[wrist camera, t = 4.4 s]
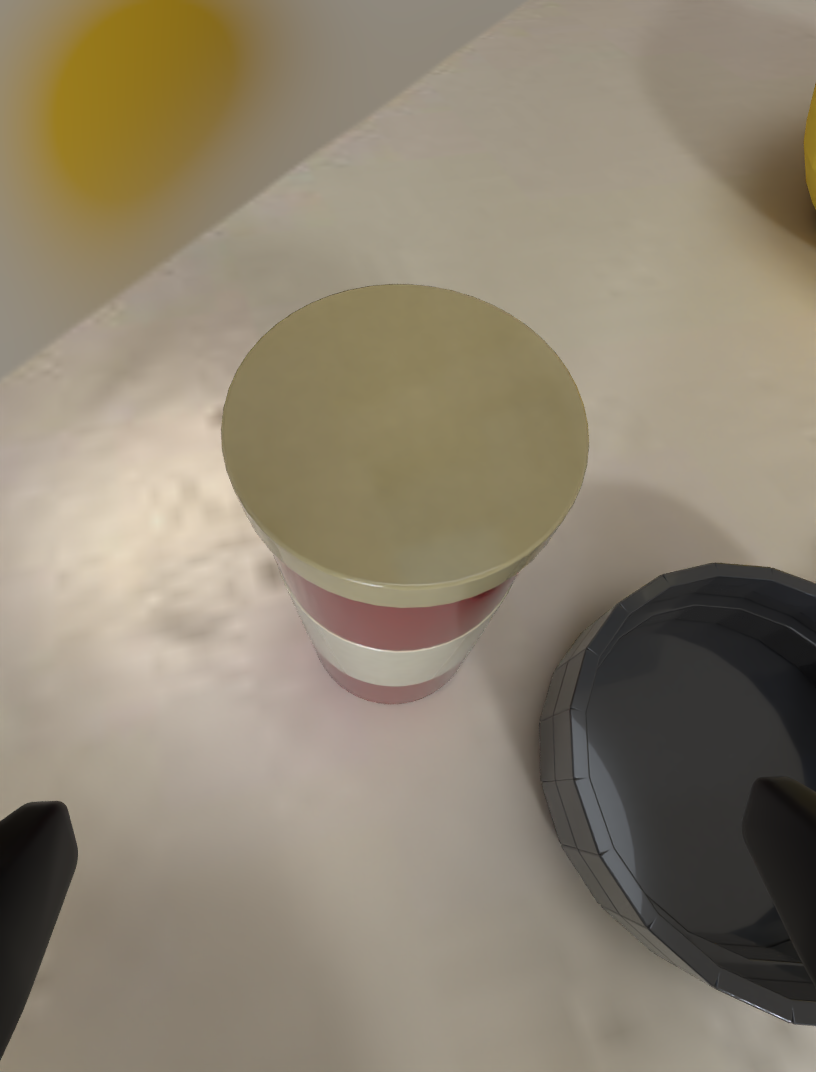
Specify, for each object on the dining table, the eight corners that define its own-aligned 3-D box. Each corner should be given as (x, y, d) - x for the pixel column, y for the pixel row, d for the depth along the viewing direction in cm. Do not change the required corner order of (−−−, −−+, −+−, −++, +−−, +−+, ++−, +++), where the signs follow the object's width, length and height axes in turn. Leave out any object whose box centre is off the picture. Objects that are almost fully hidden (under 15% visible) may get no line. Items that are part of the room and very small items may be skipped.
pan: (614, 1034, 16) (682, 1103, 13) (492, 639, 21) (515, 607, 18) (957, 913, 18) (1102, 943, 14) (772, 573, 23) (846, 531, 19)
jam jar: (324, 728, 20) (244, 631, 8) (295, 564, 22) (202, 307, 10) (496, 685, 20) (650, 541, 9) (449, 532, 23) (522, 263, 11)
